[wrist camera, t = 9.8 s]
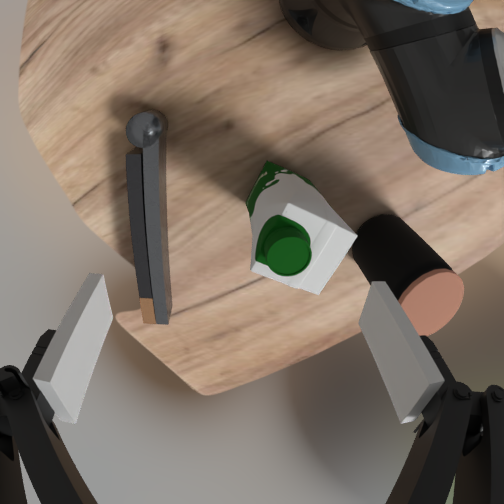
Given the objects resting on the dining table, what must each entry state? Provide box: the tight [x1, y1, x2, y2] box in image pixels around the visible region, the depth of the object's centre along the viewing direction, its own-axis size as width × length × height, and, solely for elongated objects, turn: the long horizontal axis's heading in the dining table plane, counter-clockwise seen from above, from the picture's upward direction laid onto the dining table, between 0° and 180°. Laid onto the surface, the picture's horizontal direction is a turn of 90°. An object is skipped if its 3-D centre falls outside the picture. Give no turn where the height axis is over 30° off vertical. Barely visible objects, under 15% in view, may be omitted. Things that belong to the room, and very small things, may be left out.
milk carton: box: [246, 161, 358, 295], centre depth 37 cm, size 9×9×20 cm
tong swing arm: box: [126, 147, 156, 324], centre depth 45 cm, size 27×2×5 cm, turn 176°
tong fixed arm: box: [126, 110, 172, 325], centre depth 44 cm, size 32×4×5 cm, turn 176°
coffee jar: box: [352, 215, 464, 336], centre depth 43 cm, size 11×11×18 cm
